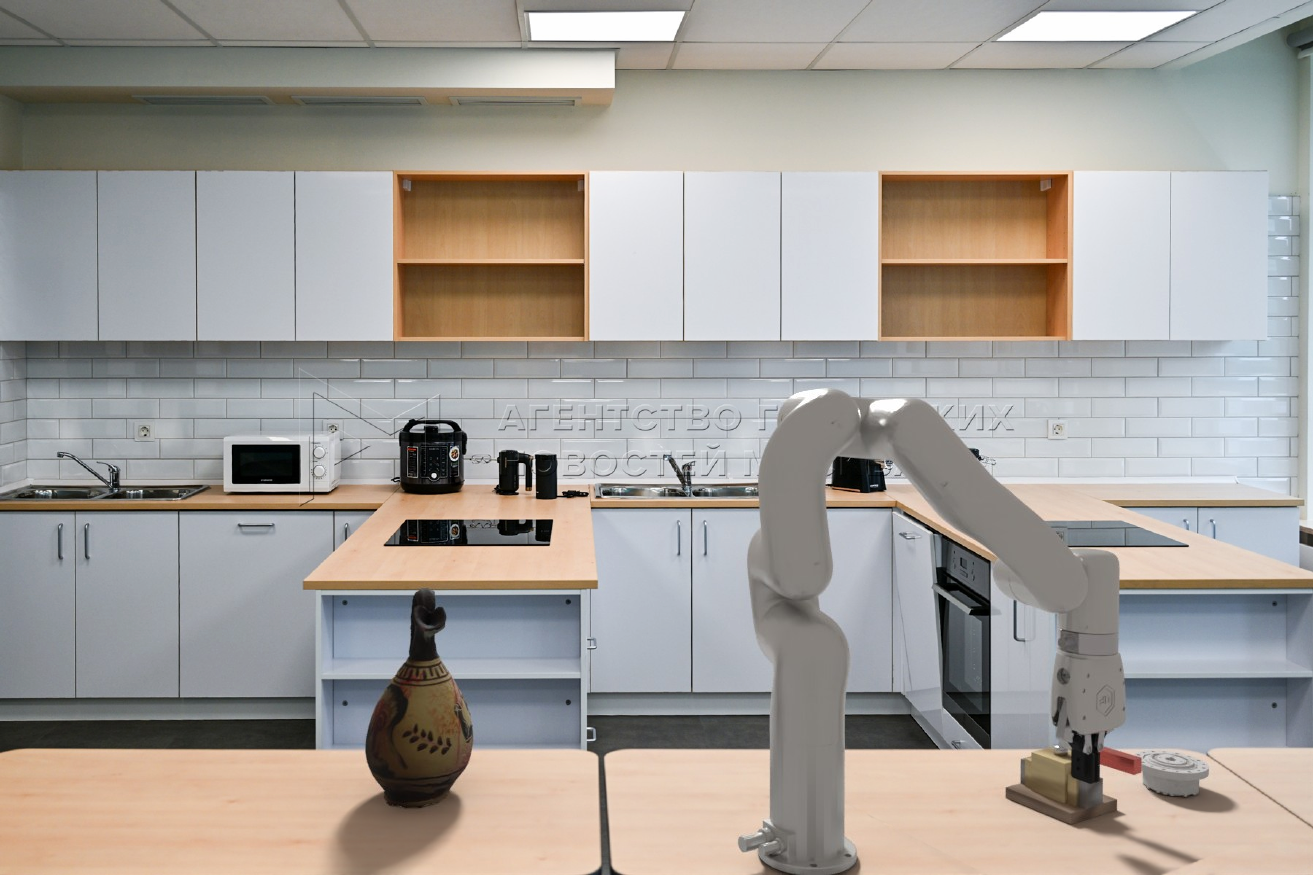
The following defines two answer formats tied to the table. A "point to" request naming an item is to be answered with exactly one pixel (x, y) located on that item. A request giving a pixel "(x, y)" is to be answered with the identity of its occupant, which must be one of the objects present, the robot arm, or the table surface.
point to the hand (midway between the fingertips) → (1085, 779)
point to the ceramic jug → (420, 720)
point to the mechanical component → (1172, 772)
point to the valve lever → (1109, 758)
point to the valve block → (1058, 789)
